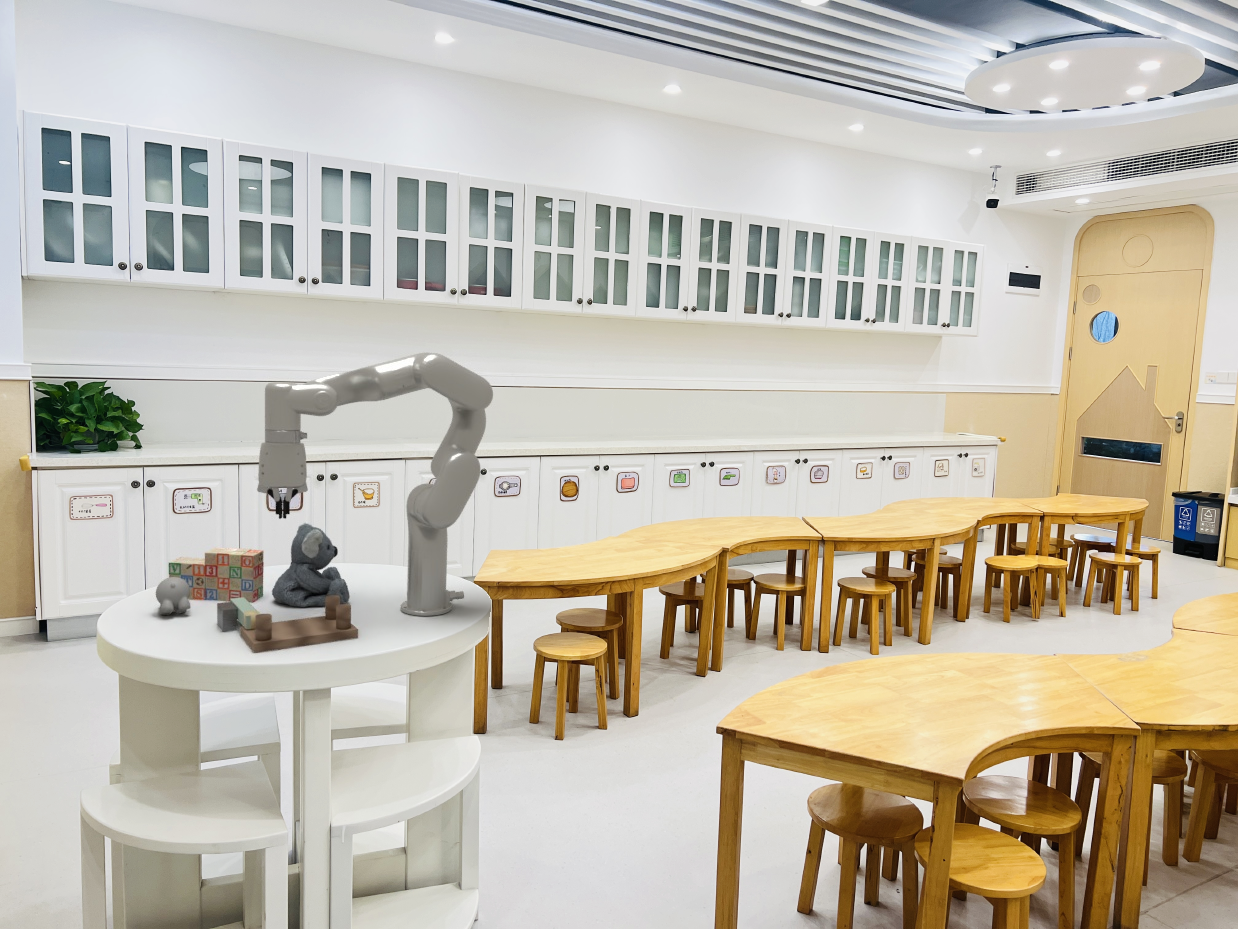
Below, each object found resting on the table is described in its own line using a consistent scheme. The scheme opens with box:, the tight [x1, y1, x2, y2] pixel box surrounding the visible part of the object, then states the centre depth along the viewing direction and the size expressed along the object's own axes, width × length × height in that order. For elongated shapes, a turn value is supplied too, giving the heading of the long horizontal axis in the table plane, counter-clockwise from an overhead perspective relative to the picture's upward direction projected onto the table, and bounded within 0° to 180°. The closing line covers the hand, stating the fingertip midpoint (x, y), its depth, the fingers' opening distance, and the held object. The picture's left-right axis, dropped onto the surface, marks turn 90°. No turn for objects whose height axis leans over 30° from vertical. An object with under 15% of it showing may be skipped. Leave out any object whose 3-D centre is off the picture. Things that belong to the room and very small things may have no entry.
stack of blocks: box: [168, 546, 265, 604], centre depth 221 cm, size 21×6×12 cm, turn 89°
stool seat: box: [239, 595, 359, 654], centre depth 194 cm, size 22×13×7 cm, turn 125°
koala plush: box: [271, 522, 350, 608], centre depth 221 cm, size 17×18×20 cm
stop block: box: [216, 601, 238, 633], centre depth 198 cm, size 3×6×5 cm, turn 35°
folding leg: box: [229, 597, 261, 629], centre depth 197 cm, size 15×3×3 cm, turn 36°
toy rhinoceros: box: [155, 577, 191, 616], centre depth 207 cm, size 7×12×8 cm, turn 35°
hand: (282, 517), depth 199 cm, fingers closed
